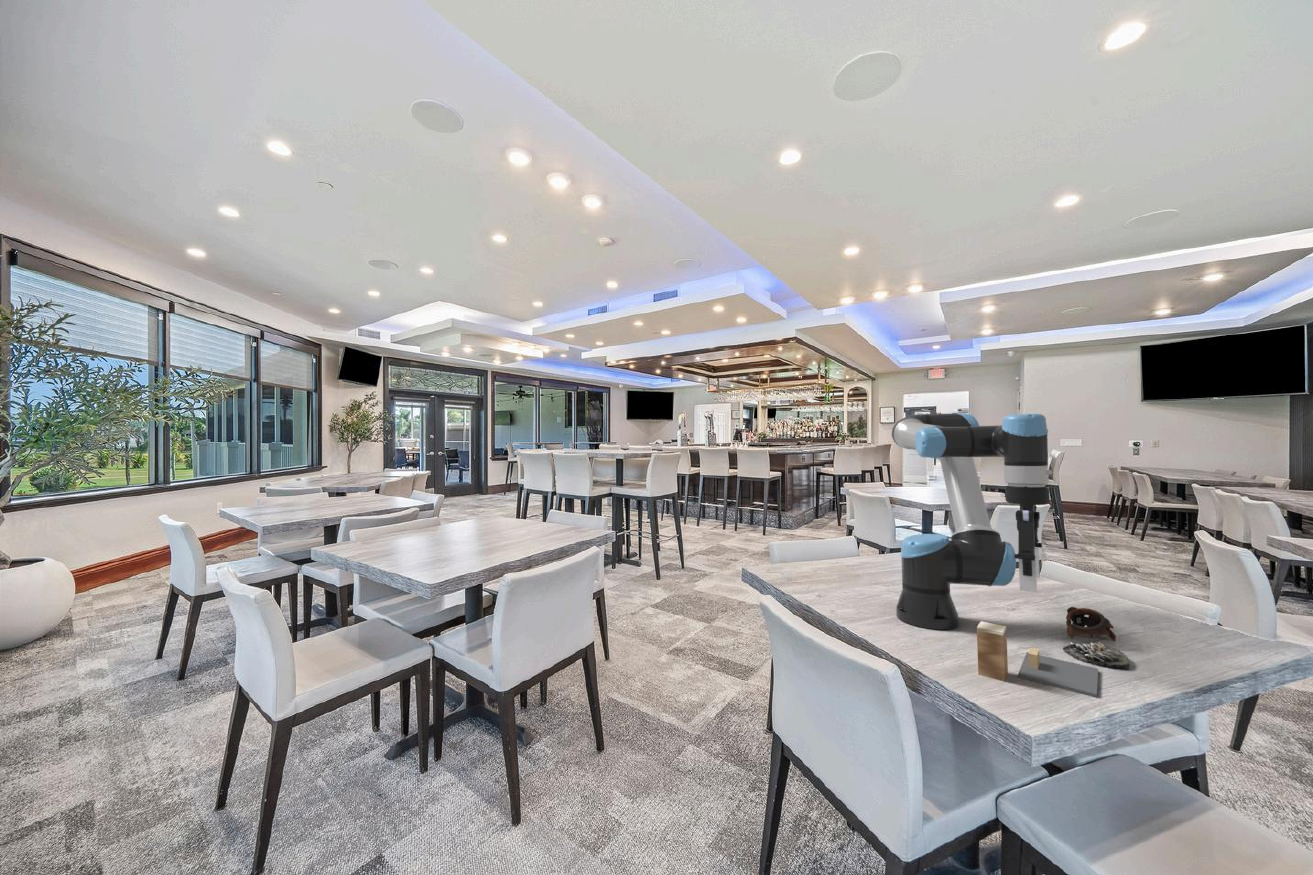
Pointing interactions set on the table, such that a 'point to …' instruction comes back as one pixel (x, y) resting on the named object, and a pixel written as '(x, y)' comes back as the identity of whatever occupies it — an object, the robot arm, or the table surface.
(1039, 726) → the table surface
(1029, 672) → the board
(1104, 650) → the oyster shell
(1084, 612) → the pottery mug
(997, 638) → the teak block
